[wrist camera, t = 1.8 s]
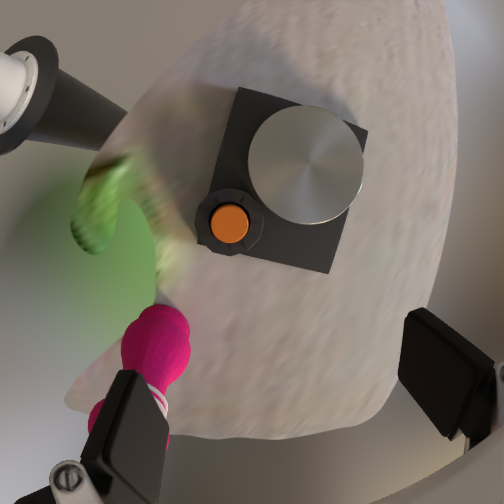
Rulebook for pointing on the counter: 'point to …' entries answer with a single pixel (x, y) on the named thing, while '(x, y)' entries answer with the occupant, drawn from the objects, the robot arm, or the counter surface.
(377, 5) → the counter surface
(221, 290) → the counter surface
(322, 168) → the weighing plate
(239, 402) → the counter surface
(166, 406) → the pepper mill
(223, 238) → the button
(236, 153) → the scale
